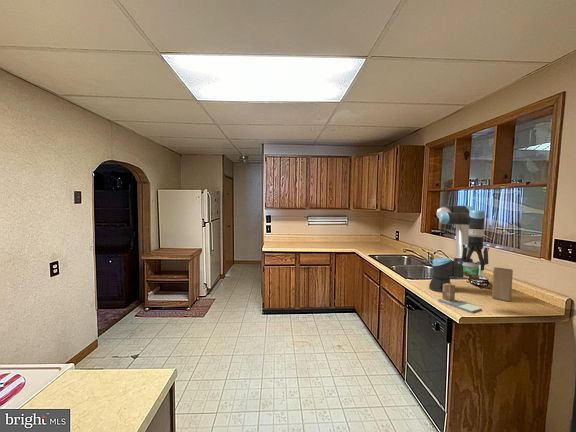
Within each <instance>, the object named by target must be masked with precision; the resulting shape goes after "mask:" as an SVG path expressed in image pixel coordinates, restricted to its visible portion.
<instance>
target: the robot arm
mask: <svg viewBox="0 0 576 432" xmlns="http://www.w3.org/2000/svg"><path fill="white" fill-rule="evenodd" d="M435 214H436V217H437V218H438V219H439V224H442V225H455V252H456V253H455V255H456V256H455V257H454V258H453V260H452V259H451V258H450V257H436V258H434V259H433V260H432V272H431V275H432V277H431V280H430V282H429V284H428V288H429V290H431V291H434V292H438V293H442V292H443V284H446V283H449V284H452V282H451V277H452V278H459V279H461V278H462V279H464V277H463V266H462V265H463V262H465V263H476V262H475V261H474V259H473V258H472V255H473V253H476V254H477V257H478V260H479V261H478V262H480V265H479V275H478V276H479V277H483V273H484V272H483V271H485V266H486V265H489V250H490V248H489V247H486V246H484V236H485V233H484V232H485V219H486V218H485V217H486V216H485V211H484V210H481V209H479V210H478V209H474V208H473V207H472V206H471V205H451V204H450V205H443V206H440V207H439V208H438V209H437V210H436V212H435ZM482 250H483V252H482Z"/></svg>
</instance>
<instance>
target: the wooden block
mask: <svg viewBox="0 0 576 432" xmlns="http://www.w3.org/2000/svg"><path fill="white" fill-rule="evenodd" d="M492 273H493V274H492V287H491V288H492V289H491V298H492V299H493V300H497V301H502V300H503V302H509V303H510V302H512V292H513V291H512V288H513V286H512V285H513V269H510V268H505V267H504V268H503V267H497V266H495V267H493V271H492Z"/></svg>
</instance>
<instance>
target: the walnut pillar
mask: <svg viewBox="0 0 576 432" xmlns="http://www.w3.org/2000/svg"><path fill="white" fill-rule="evenodd" d="M441 295H442V296H441V299H443V300H446V301H449V302H451V301H455V300H456V299H455V298H456V285H455V284H452V283H451V284H449V283H446V284H443V292H441Z"/></svg>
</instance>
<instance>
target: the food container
mask: <svg viewBox="0 0 576 432" xmlns="http://www.w3.org/2000/svg"><path fill="white" fill-rule="evenodd" d="M479 265H480V261H476V262H475V263H465V262H463V265H462V266H463V277H464V278H463V279H465V280H469V281H479V280H480V276H478V275H479Z"/></svg>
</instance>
